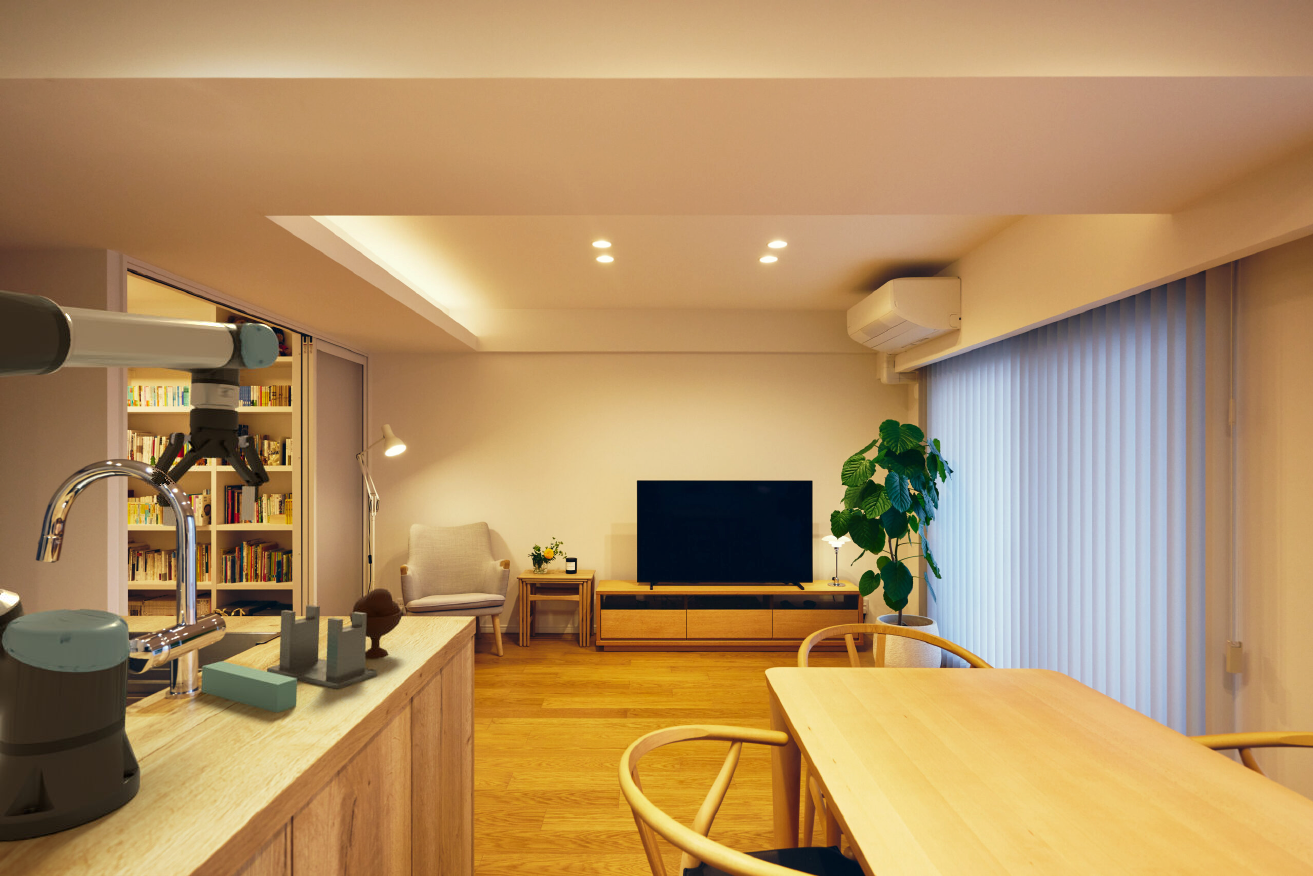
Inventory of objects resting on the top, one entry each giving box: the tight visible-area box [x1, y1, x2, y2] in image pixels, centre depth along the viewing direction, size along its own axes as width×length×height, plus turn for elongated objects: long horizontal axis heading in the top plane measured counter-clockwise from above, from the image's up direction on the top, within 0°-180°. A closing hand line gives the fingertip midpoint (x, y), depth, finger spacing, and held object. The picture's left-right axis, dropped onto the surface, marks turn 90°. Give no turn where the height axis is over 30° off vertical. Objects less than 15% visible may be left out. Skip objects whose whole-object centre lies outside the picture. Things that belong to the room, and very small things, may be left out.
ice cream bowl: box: [349, 588, 403, 660], centre depth 143 cm, size 11×11×15 cm
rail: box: [200, 660, 298, 713], centre depth 116 cm, size 22×4×5 cm, turn 65°
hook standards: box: [266, 604, 378, 690], centre depth 130 cm, size 9×21×12 cm, turn 65°
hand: (210, 522), depth 118 cm, fingers open, 13 cm apart
